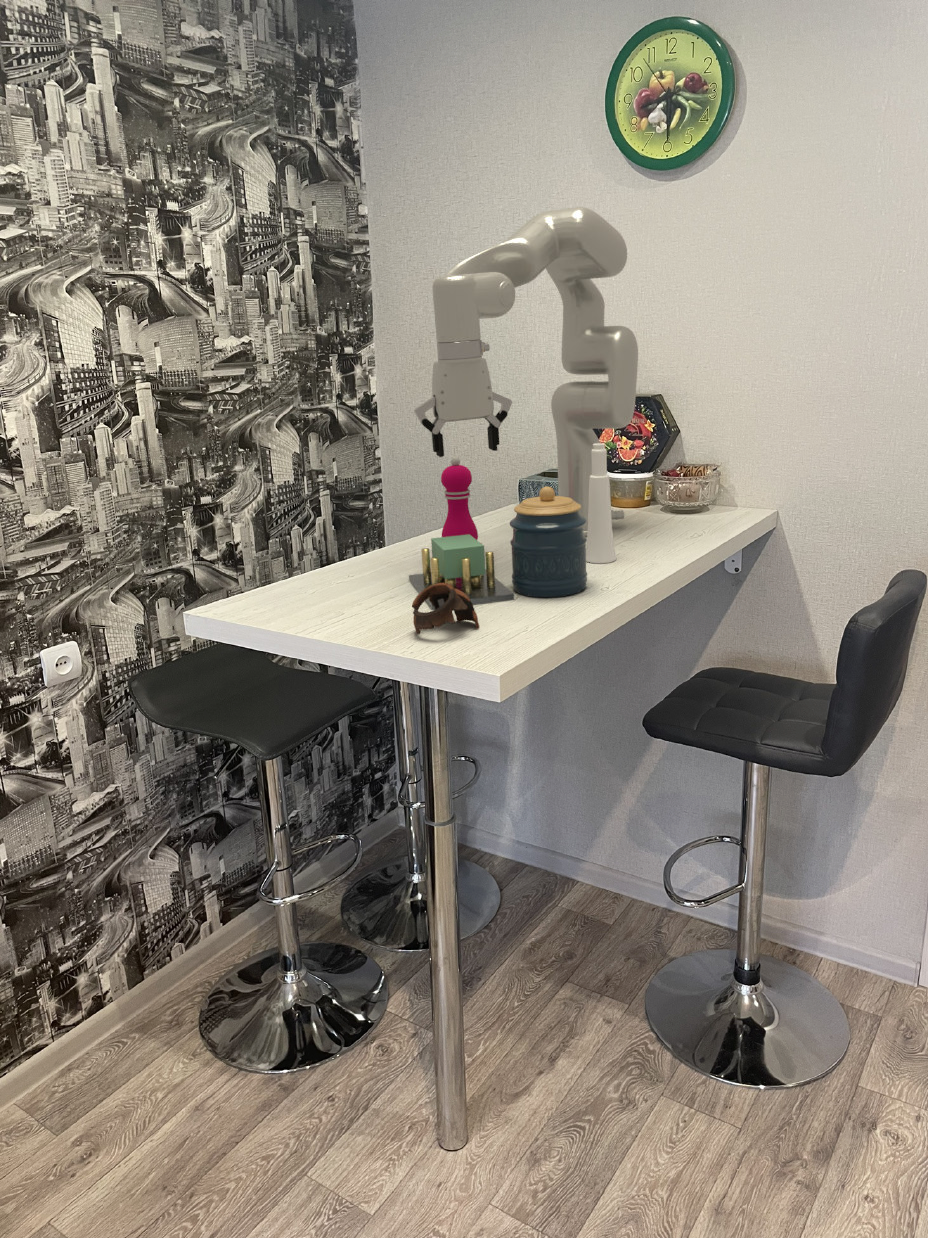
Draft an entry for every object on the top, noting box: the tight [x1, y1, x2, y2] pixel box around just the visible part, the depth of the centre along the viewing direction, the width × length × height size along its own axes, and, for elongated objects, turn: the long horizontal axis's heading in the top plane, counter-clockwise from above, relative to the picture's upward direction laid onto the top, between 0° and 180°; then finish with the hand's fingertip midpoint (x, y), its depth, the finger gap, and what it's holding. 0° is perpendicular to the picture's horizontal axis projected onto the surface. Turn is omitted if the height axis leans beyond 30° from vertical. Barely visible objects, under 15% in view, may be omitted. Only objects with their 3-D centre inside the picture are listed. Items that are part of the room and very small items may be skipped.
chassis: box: [408, 542, 515, 611], centre depth 163 cm, size 14×20×7 cm
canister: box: [509, 486, 588, 598], centre depth 159 cm, size 13×13×18 cm
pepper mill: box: [440, 456, 479, 541], centre depth 183 cm, size 7×7×20 cm
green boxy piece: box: [430, 534, 486, 579], centre depth 162 cm, size 7×10×5 cm
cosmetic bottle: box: [586, 442, 617, 564], centre depth 175 cm, size 6×6×22 cm
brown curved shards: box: [411, 583, 480, 634], centre depth 143 cm, size 12×10×8 cm
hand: (466, 452), depth 165 cm, fingers open, 9 cm apart
